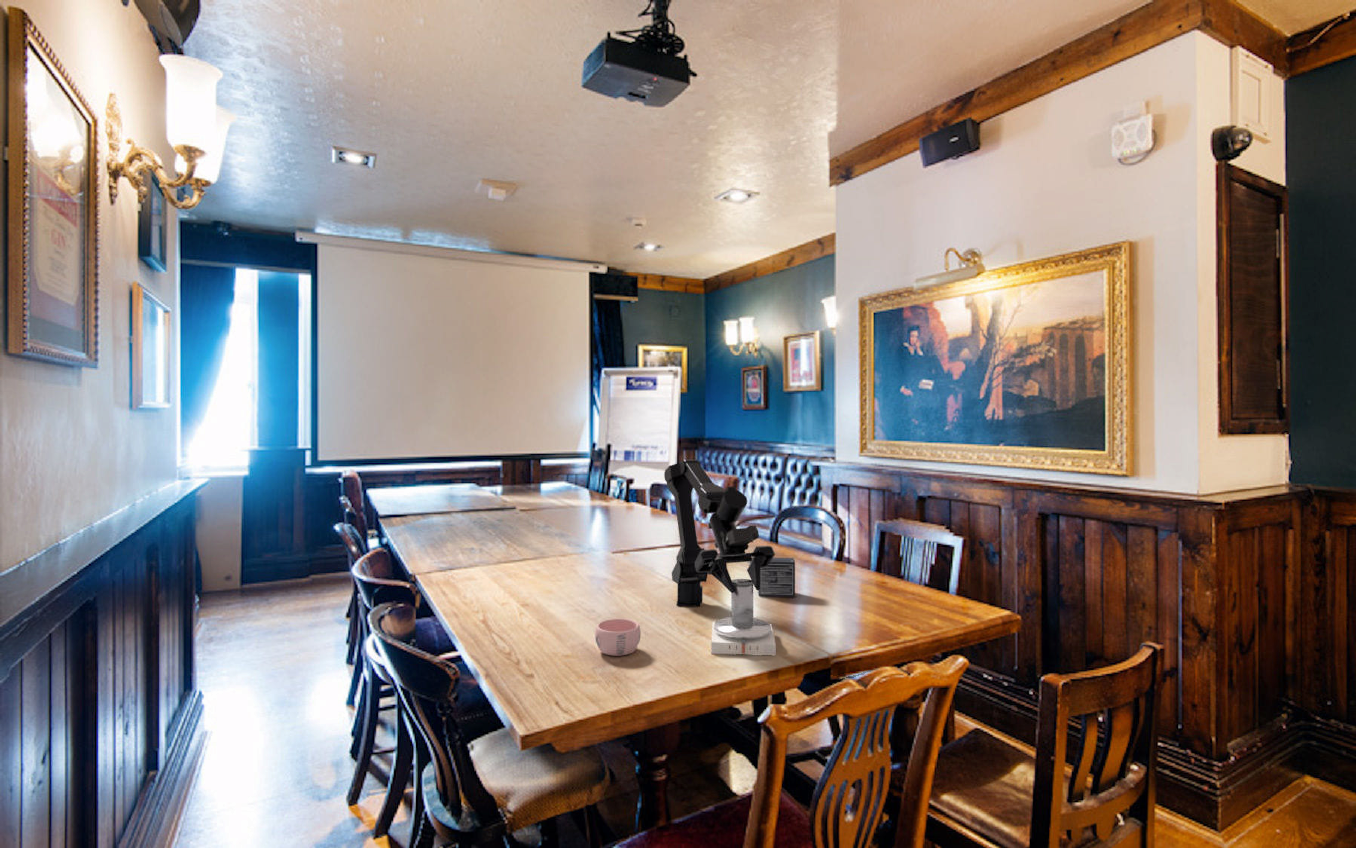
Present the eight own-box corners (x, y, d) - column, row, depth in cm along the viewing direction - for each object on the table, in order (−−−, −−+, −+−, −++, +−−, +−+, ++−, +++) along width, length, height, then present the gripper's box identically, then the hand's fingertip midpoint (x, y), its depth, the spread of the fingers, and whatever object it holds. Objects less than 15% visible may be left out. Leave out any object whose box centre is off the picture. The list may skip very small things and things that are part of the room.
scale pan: (713, 652, 141) (713, 636, 141) (714, 630, 156) (714, 615, 156) (773, 654, 140) (773, 638, 140) (769, 632, 155) (769, 617, 155)
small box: (793, 592, 192) (794, 557, 192) (795, 598, 186) (796, 562, 186) (757, 590, 194) (758, 556, 193) (758, 597, 187) (758, 560, 187)
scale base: (711, 653, 142) (711, 642, 142) (712, 632, 156) (712, 621, 156) (775, 656, 141) (775, 644, 141) (771, 634, 155) (771, 623, 155)
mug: (645, 657, 140) (645, 630, 140) (600, 662, 136) (600, 634, 136) (631, 639, 151) (631, 613, 151) (589, 643, 148) (589, 617, 148)
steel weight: (727, 626, 148) (726, 582, 148) (738, 620, 152) (737, 578, 153) (747, 629, 145) (746, 584, 145) (757, 624, 149) (757, 580, 150)
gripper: (700, 515, 149) (719, 575, 138) (771, 512, 155) (795, 568, 145) (686, 543, 156) (704, 601, 146) (755, 538, 163) (777, 594, 153)
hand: (745, 590), depth 147 cm, fingers open, 6 cm apart
